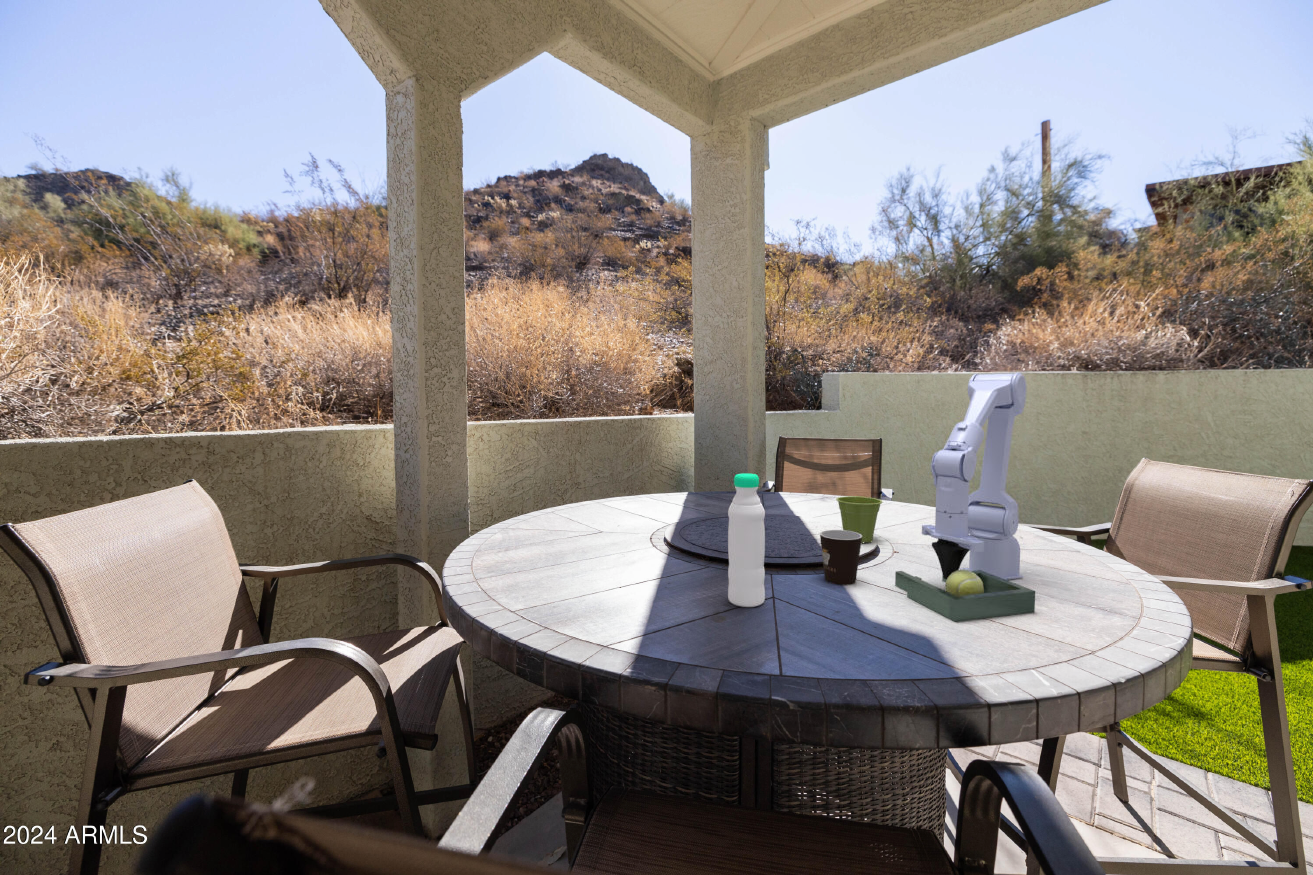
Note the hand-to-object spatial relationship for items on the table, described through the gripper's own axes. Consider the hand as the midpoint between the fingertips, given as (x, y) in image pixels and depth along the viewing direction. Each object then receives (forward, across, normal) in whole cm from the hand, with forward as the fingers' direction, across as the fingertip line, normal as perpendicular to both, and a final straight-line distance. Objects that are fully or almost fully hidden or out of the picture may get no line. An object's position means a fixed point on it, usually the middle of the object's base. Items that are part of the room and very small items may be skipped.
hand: (949, 578), depth 116 cm
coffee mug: (+4, -16, -15) cm, 22 cm away
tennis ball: (+4, +4, 0) cm, 5 cm away
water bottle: (+4, -7, -40) cm, 41 cm away
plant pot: (+4, -42, +7) cm, 43 cm away
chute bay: (+3, +1, 0) cm, 4 cm away
